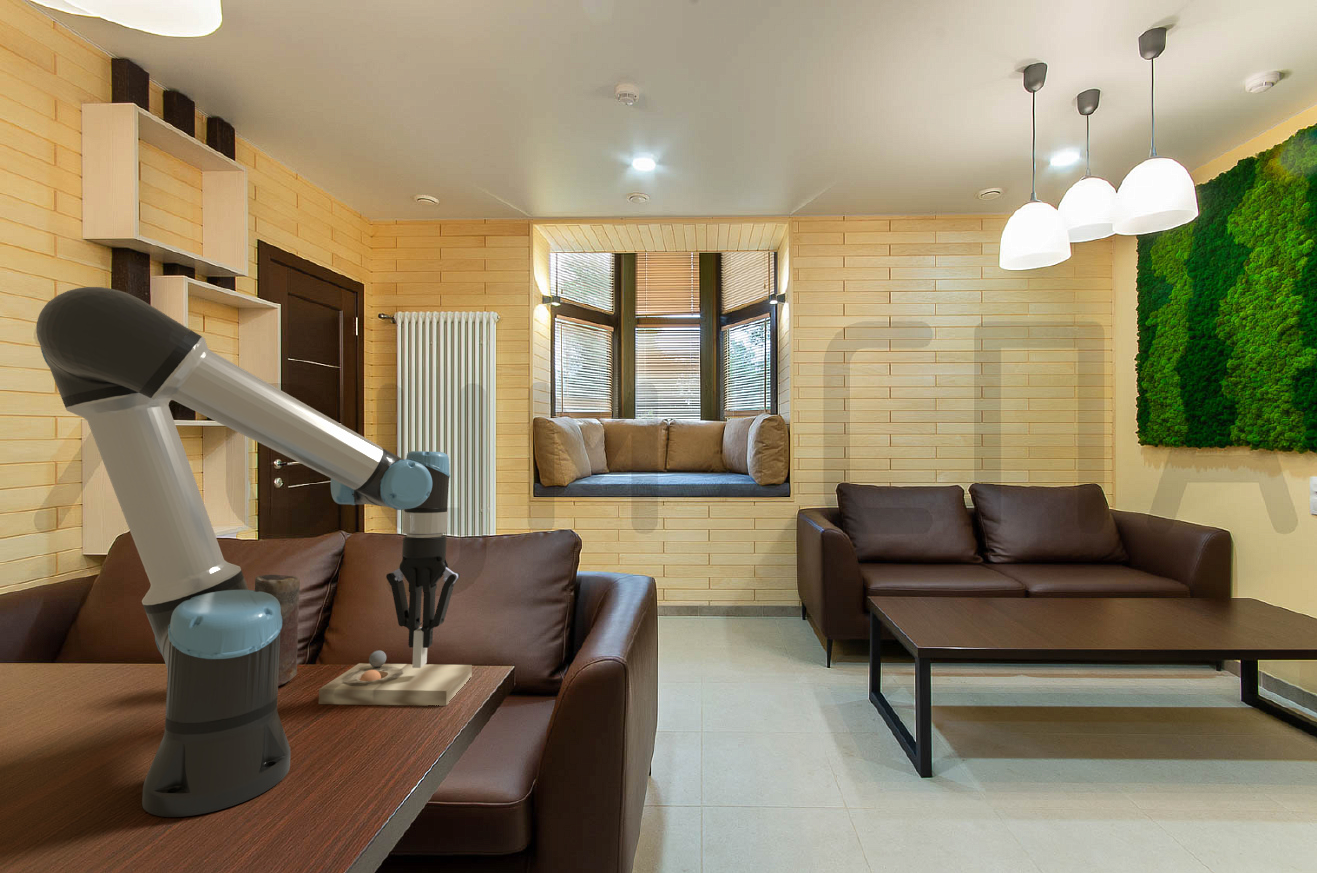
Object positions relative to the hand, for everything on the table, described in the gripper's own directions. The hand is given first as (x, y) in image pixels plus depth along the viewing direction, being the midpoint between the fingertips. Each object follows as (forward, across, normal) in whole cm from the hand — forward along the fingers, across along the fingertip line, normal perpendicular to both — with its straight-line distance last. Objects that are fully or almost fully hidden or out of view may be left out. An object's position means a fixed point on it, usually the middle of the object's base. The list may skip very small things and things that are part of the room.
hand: (419, 665), depth 106 cm
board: (+5, +4, 0) cm, 6 cm away
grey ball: (+1, +10, -5) cm, 11 cm away
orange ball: (+3, +9, 0) cm, 9 cm away
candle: (+5, +28, -3) cm, 29 cm away
